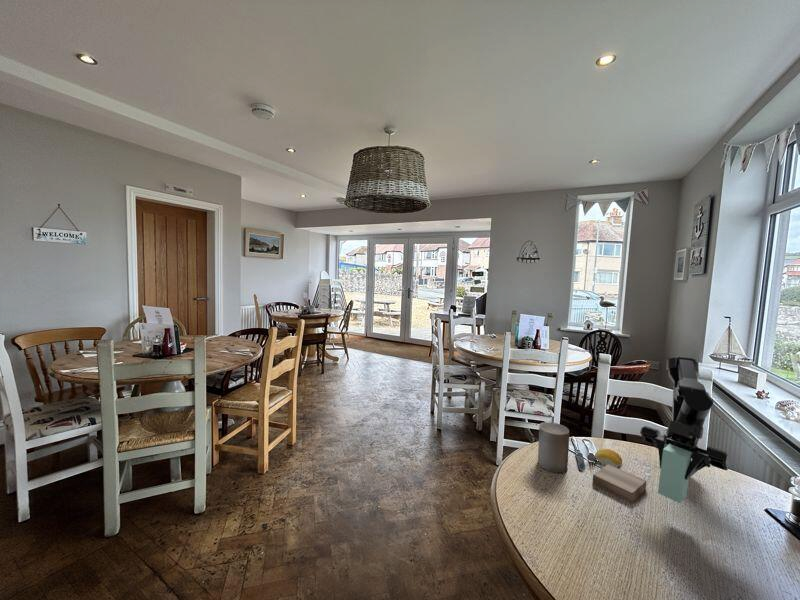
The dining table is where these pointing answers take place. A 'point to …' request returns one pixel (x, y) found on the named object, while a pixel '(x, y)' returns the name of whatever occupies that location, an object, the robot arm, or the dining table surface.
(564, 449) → the pillar candle
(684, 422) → the robot arm
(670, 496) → the pillar
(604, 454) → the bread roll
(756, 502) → the dining table surface
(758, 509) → the dining table surface
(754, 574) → the dining table surface
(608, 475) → the walnut base
